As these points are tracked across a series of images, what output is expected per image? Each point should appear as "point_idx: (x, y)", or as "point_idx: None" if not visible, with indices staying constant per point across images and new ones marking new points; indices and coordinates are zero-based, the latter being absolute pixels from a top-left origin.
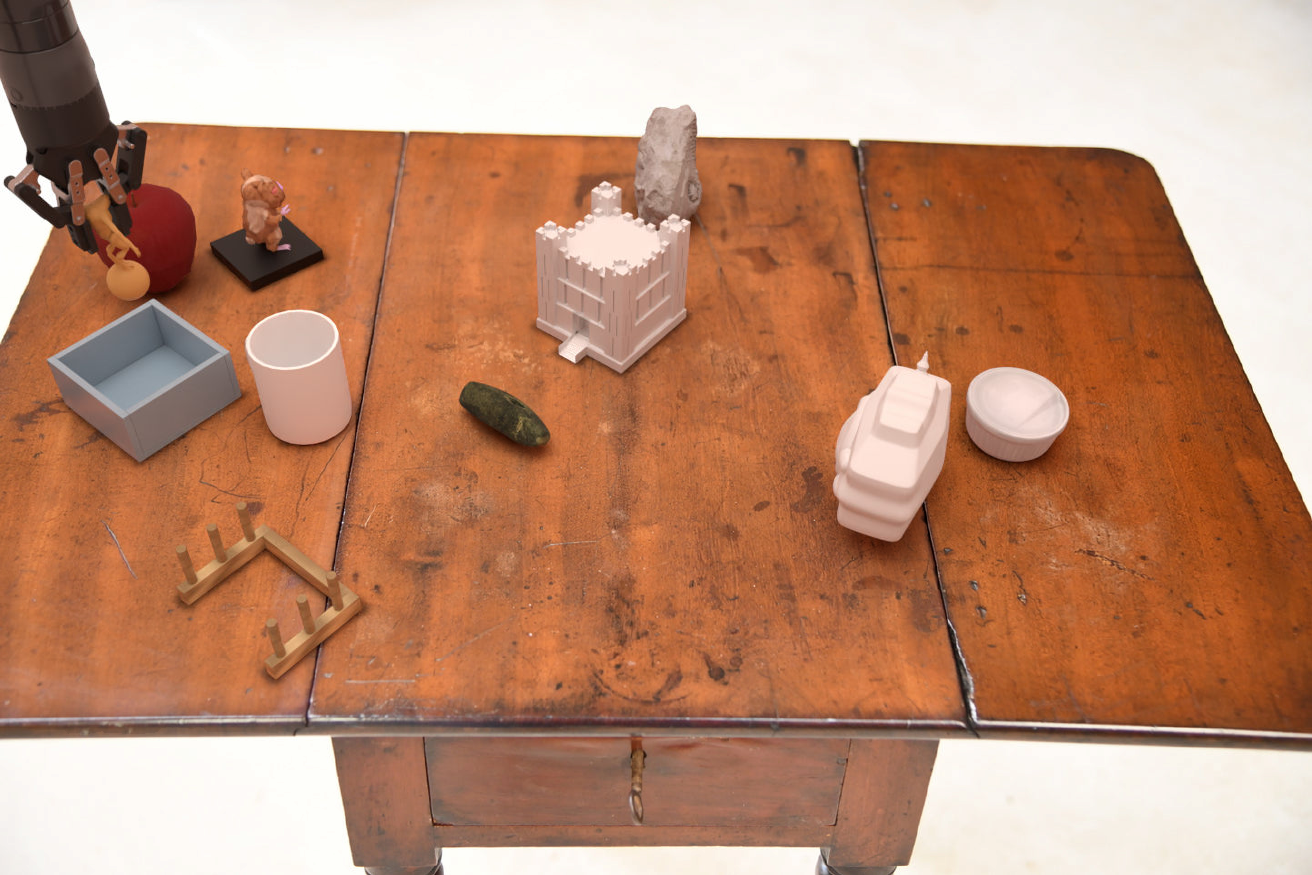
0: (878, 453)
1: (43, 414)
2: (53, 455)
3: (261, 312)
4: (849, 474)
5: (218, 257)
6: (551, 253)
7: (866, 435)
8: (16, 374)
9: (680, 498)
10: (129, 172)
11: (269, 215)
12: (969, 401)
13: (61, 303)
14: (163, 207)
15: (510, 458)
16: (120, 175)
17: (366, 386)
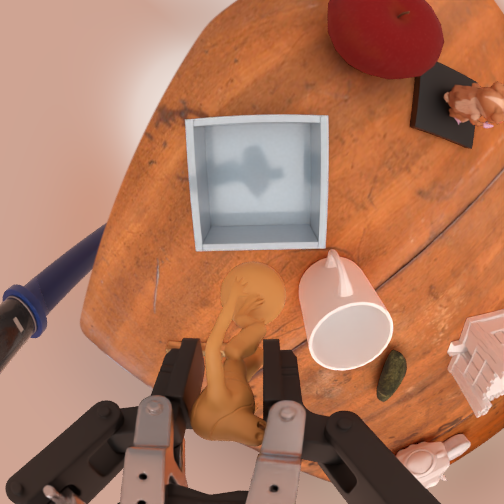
0: None
1: (178, 120)
2: (160, 172)
3: (396, 154)
4: None
5: None
6: (495, 371)
7: None
8: (190, 57)
9: (382, 426)
10: (334, 482)
11: (477, 119)
12: (452, 450)
13: (276, 4)
14: (421, 52)
15: (369, 381)
16: (329, 451)
17: (379, 288)
